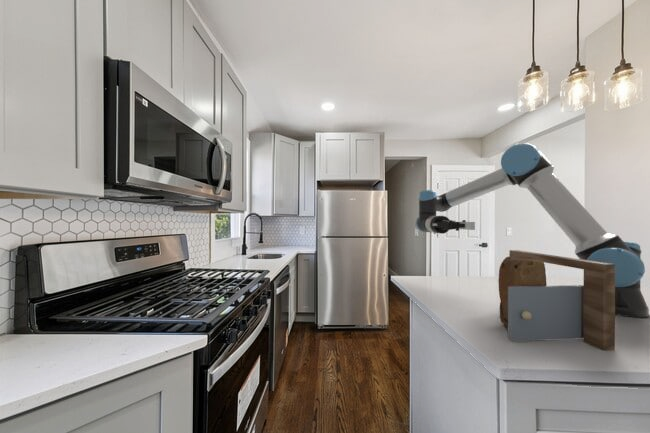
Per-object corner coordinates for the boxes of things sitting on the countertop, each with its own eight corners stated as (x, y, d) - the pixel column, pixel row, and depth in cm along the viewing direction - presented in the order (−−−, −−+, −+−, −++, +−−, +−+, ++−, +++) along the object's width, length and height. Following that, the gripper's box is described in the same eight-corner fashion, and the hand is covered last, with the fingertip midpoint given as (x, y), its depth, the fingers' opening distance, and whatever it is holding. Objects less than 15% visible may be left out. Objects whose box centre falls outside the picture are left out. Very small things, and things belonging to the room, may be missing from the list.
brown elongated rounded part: (550, 339, 69) (550, 260, 69) (520, 339, 69) (521, 260, 69) (519, 323, 80) (519, 254, 80) (494, 323, 80) (494, 254, 80)
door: (582, 335, 71) (582, 285, 71) (596, 341, 67) (596, 288, 68) (507, 338, 69) (507, 286, 69) (518, 344, 65) (518, 289, 65)
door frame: (517, 309, 92) (517, 250, 93) (614, 350, 64) (615, 264, 64) (509, 309, 92) (509, 250, 92) (603, 350, 64) (603, 264, 64)
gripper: (452, 233, 119) (490, 236, 96) (423, 233, 118) (455, 236, 94) (452, 215, 119) (490, 215, 96) (423, 215, 118) (455, 214, 95)
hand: (472, 225), depth 95 cm, fingers closed
